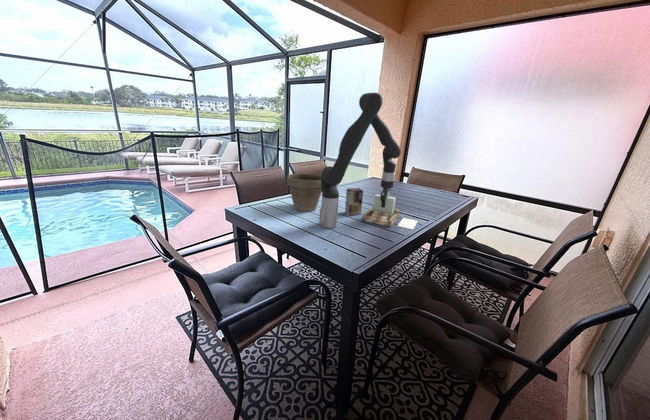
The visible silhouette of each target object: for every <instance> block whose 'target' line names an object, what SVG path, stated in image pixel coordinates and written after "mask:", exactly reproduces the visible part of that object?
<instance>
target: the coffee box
mask: <svg viewBox="0 0 650 420" xmlns="http://www.w3.org/2000/svg"><path fill="white" fill-rule="evenodd" d="M363 195H364V190H363V189H362V188H360V187H354V188H346V195H345V207H344V212H345V213H346V214H347V215H348V216H353V215H354V216H355V215H361V214H362V207H363V197H364V196H363Z"/></svg>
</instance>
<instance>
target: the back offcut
mask: <svg viewBox="0 0 650 420" xmlns="http://www.w3.org/2000/svg"><path fill="white" fill-rule="evenodd" d="M373 214H377V215H381V216H385V217H387V221H389V220H388V218H389V213H384V212H380V211H374V212H373Z"/></svg>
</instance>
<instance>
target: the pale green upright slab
mask: <svg viewBox="0 0 650 420" xmlns="http://www.w3.org/2000/svg"><path fill="white" fill-rule="evenodd" d="M385 197H386V196H385ZM383 199H384V198H383ZM396 199H397V198H396V197H394V196H389V197H387V198H386V203H385V207H384V208H383V207H381V204H382V201H381V194H377V193H376V194H375V195H374V201H373V204H374V208H373V212H374V211H380V212H384V213H389V218H388V221H389V219H390V218H391V217H392V216H393V213H394V209H395V206H396Z"/></svg>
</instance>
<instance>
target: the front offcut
mask: <svg viewBox="0 0 650 420" xmlns="http://www.w3.org/2000/svg"><path fill="white" fill-rule="evenodd" d="M371 217H374V218H379V219H383V220H387V217H385V216H381V215H377V214H372V215H371Z"/></svg>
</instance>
